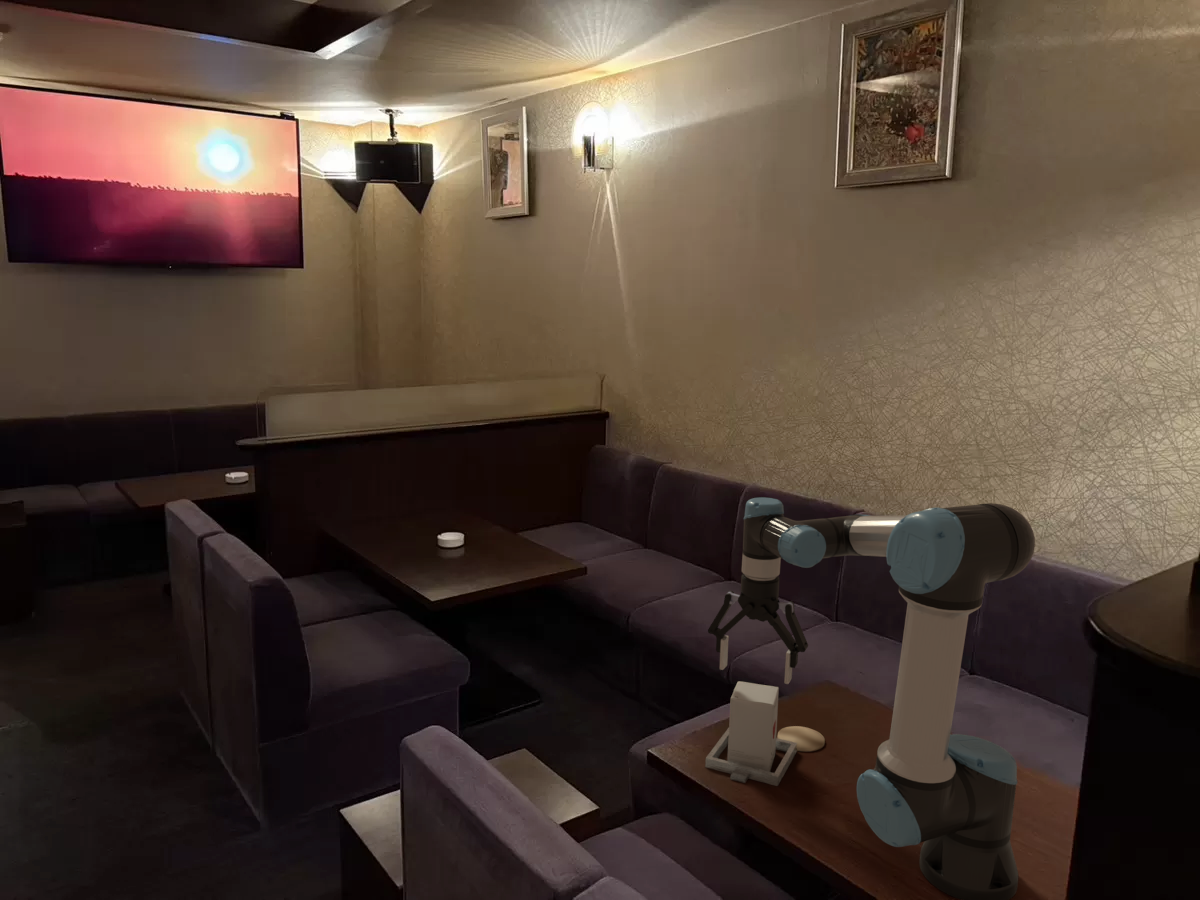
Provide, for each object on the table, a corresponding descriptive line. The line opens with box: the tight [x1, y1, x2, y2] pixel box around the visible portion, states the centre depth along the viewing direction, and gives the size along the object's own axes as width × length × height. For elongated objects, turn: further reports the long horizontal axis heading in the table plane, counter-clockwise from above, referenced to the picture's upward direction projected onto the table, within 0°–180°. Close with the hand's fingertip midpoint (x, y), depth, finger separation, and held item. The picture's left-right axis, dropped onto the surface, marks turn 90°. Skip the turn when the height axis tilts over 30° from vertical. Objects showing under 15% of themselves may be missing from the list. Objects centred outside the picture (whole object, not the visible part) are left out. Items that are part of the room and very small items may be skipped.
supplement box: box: [726, 681, 780, 772], centre depth 181 cm, size 9×9×15 cm
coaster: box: [776, 725, 826, 753], centre depth 190 cm, size 10×10×1 cm
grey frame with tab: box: [704, 727, 798, 787], centre depth 182 cm, size 19×15×2 cm
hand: (755, 674), depth 179 cm, fingers open, 13 cm apart
